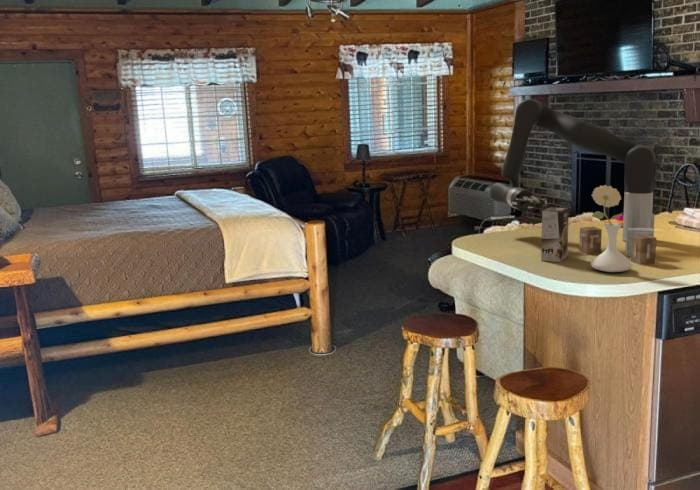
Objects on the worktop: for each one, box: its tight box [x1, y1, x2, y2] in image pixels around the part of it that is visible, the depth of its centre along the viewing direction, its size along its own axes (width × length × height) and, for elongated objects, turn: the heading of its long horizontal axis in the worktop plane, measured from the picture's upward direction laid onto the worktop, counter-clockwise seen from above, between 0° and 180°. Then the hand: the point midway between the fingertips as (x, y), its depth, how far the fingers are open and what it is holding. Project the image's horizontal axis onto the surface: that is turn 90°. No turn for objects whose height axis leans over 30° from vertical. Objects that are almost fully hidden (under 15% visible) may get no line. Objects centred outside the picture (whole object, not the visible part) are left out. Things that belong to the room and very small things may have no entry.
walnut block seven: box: [578, 226, 603, 255], centre depth 221 cm, size 5×5×8 cm
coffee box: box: [540, 206, 570, 263], centre depth 213 cm, size 9×6×16 cm
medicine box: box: [625, 228, 655, 257], centre depth 214 cm, size 8×4×9 cm, turn 71°
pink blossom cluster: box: [603, 214, 624, 228], centre depth 267 cm, size 8×8×4 cm
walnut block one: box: [630, 235, 657, 266], centre depth 204 cm, size 5×5×8 cm
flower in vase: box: [590, 184, 633, 273], centre depth 195 cm, size 13×11×25 cm
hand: (539, 205), depth 223 cm, fingers closed
